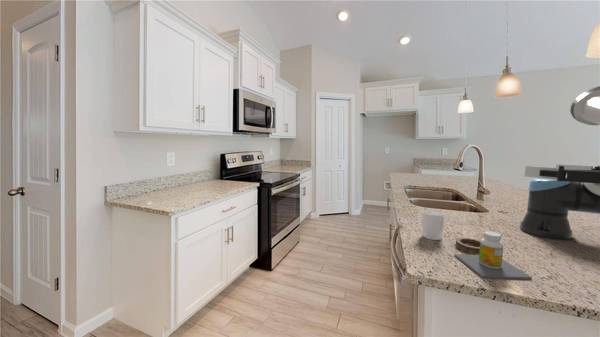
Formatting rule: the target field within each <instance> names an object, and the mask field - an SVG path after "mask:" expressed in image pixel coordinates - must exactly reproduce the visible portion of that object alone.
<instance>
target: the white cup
mask: <svg viewBox="0 0 600 337" xmlns="http://www.w3.org/2000/svg"><path fill="white" fill-rule="evenodd" d="M445 216H446V214H445V213H444V212H443V211H440V210H439V211H438V210H434V209H425V210H422V211H421V229H422V232H421V233H422V234H421V235H422V237H423V238H426V239H427V240H430V241H431V240H432V241H439V240H441V239H442V237H443V230H444V224H445V223H444V222H445Z"/></svg>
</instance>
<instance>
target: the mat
mask: <svg viewBox="0 0 600 337" xmlns="http://www.w3.org/2000/svg"><path fill="white" fill-rule="evenodd" d="M454 257H455V258H457V259H458V261H460V262H461V263H463V264H464V265H465V266H467V267H468V268H470V270H472V272H474V273H475V274H477V275H478V276H479V277H480V278H482V279H505V280H507V279H510V280H511V279H512V280H532V279H533V277H532V276H531V275H529V274H527V273H526V272H525V271H523V270H520V269H519V268H517V267H516V266H514V265H513V264H511V263H509V262H508V261H506V260H505V259H503V258H502V266H501V268H499V269H493V268H489V267H486V266H484V265H482V264H480V263H479V254H460V253H459V254H456V253H455V254H454Z"/></svg>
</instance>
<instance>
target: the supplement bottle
mask: <svg viewBox="0 0 600 337" xmlns="http://www.w3.org/2000/svg"><path fill="white" fill-rule="evenodd" d="M501 240H502V235H501V234H500V233H498V232H495V231H490V230H489V231H488V230H487V231H483V237H482V238H481V239H480V253H479V254H478V255H479V263H480V264H482V265H484V266H486V267H489V268H493V269H499V268H501V266H502V259H503V254H504V243H503V242H502V241H501Z"/></svg>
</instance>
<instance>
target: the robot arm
mask: <svg viewBox="0 0 600 337" xmlns="http://www.w3.org/2000/svg"><path fill="white" fill-rule="evenodd" d="M569 110H570V114H571V116H572V117H573V119H574V120H575V121H577V122H579V123H581V124H584V125H587V126H600V85H599V86H596V87H592V88H590V89H589V90H586V91H584V92H582V93H580V95H578V96H577V97H576V98H574V100H573V101H572V102H571V105H570V108H569ZM524 169H525V170H524V177H528V178H533V179H531V180H530V181H529V182H530V183H529V187H528V198H527V209H526V212H525V215H524V217H523V219H522V221H521V222H520V225H519V229H520V230H521V231H522V232H524V233H527V234H530V235H534V236H537V237H541V238H546V239H554V240H571V239H573V231H572V229H571V226H570V225H571V224H570V222H569V218H568V216H569V211H570V212H579V213H586V214H587V213H589V214H596V215H597V214H598V215H600V164H599V165H598V166H593V165H576V164H560V163H558V164H557V163H556V166H555V167H549V166H533V165H526V166H525V167H524Z"/></svg>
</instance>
